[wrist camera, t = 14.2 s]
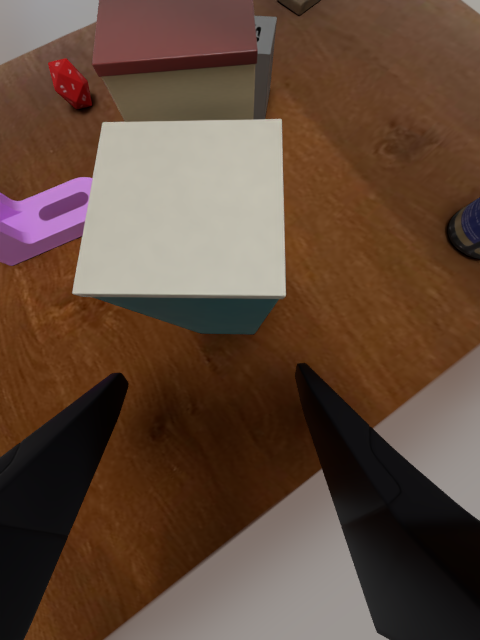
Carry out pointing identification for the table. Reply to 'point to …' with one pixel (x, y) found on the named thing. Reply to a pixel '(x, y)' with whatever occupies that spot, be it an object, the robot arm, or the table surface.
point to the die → (70, 83)
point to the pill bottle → (466, 229)
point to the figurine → (298, 5)
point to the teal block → (187, 222)
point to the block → (178, 58)
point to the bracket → (42, 220)
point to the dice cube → (263, 63)
